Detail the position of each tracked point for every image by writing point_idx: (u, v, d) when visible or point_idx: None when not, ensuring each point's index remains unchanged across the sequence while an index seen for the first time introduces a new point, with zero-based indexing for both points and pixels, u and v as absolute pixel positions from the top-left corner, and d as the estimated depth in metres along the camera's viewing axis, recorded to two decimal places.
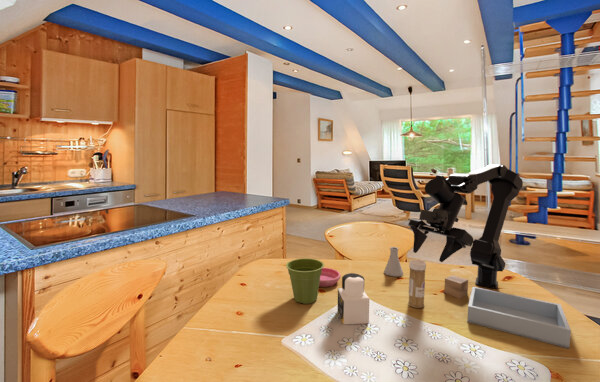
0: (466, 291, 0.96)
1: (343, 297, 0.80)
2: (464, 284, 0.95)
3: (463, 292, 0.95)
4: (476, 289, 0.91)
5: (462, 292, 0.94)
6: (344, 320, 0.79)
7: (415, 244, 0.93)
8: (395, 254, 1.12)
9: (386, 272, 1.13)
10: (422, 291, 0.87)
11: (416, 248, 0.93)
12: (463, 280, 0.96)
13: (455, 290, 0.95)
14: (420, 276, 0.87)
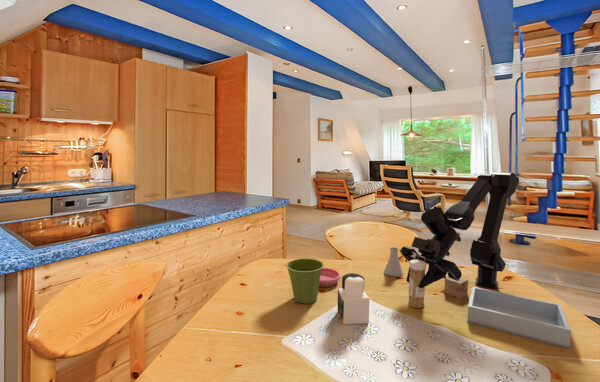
0: (466, 291, 0.96)
1: (343, 297, 0.80)
2: (464, 284, 0.95)
3: (463, 292, 0.95)
4: (476, 289, 0.91)
5: (462, 292, 0.94)
6: (344, 320, 0.79)
7: (409, 273, 0.91)
8: (395, 254, 1.12)
9: (386, 272, 1.13)
10: (422, 291, 0.87)
11: None
12: (463, 280, 0.96)
13: (455, 290, 0.95)
14: (420, 276, 0.87)
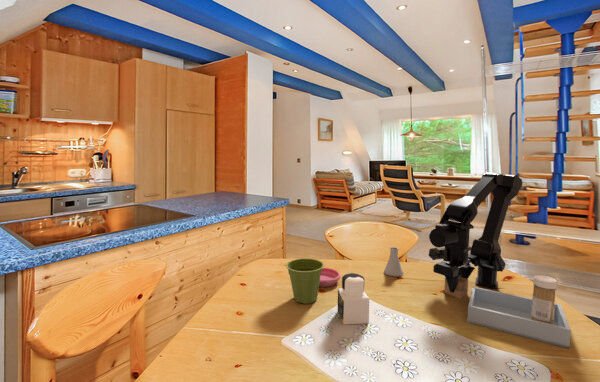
0: (466, 291, 0.96)
1: (343, 297, 0.80)
2: (464, 283, 0.95)
3: (463, 292, 0.95)
4: (476, 289, 0.91)
5: (462, 292, 0.94)
6: (344, 320, 0.79)
7: None
8: (395, 254, 1.12)
9: (386, 272, 1.13)
10: None
11: None
12: (463, 280, 0.96)
13: (455, 289, 0.95)
14: None
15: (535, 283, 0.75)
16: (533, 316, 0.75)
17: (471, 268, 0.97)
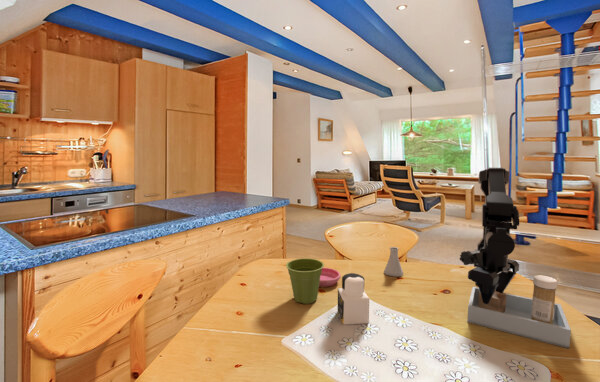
0: (504, 308, 0.84)
1: (343, 297, 0.80)
2: (502, 299, 0.83)
3: (501, 309, 0.83)
4: (476, 289, 0.91)
5: (500, 310, 0.82)
6: (344, 320, 0.79)
7: None
8: (395, 254, 1.12)
9: (386, 272, 1.13)
10: None
11: (497, 290, 0.87)
12: (501, 295, 0.83)
13: (491, 306, 0.83)
14: None
15: (535, 283, 0.75)
16: (533, 316, 0.75)
17: (512, 273, 0.85)
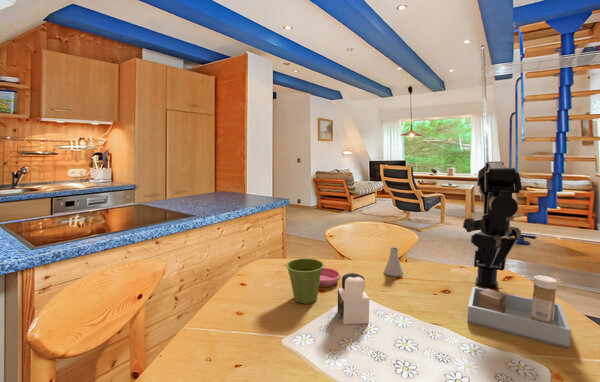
0: (504, 308, 0.84)
1: (343, 297, 0.80)
2: (502, 299, 0.83)
3: (501, 309, 0.83)
4: (476, 289, 0.91)
5: (500, 310, 0.82)
6: (344, 320, 0.79)
7: (498, 252, 0.90)
8: (395, 254, 1.12)
9: (386, 272, 1.13)
10: None
11: (500, 256, 0.90)
12: (501, 295, 0.83)
13: (491, 306, 0.83)
14: None
15: (535, 283, 0.75)
16: (533, 316, 0.75)
17: (514, 239, 0.88)
